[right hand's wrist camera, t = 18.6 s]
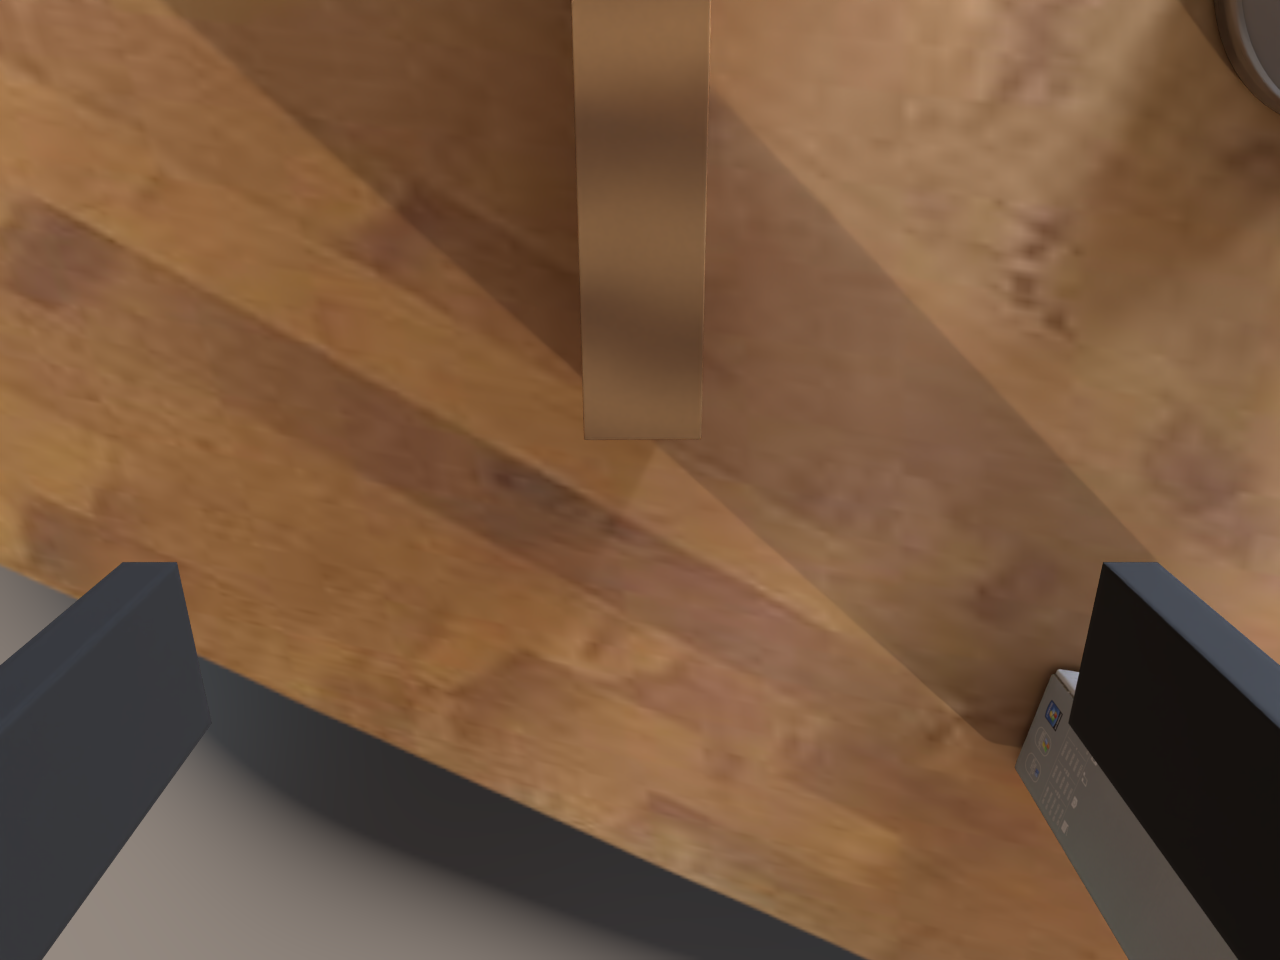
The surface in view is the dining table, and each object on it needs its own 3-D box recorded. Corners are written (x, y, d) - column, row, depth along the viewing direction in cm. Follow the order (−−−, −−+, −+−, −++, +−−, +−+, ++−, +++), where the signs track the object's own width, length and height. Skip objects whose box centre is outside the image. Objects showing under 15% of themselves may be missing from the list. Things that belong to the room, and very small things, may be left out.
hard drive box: (1008, 768, 54) (1198, 1099, 36) (1050, 664, 52) (1280, 964, 33) (1246, 802, 55) (1551, 1142, 37) (1300, 701, 53) (1659, 1014, 34)
